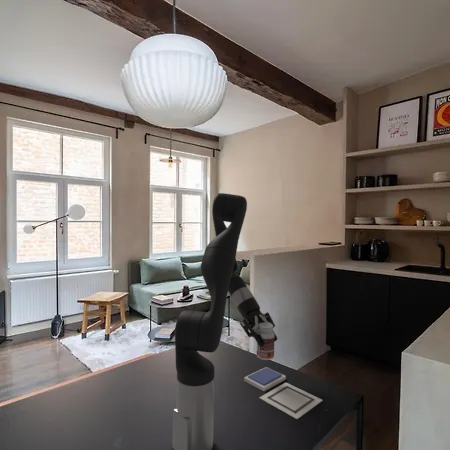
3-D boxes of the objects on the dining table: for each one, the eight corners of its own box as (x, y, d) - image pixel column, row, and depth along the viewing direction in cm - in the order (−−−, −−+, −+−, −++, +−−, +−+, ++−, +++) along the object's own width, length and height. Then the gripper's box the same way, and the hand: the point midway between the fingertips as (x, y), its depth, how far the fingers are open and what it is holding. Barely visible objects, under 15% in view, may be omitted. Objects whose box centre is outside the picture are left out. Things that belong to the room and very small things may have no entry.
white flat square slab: (297, 419, 88) (297, 418, 88) (259, 398, 98) (259, 397, 98) (322, 400, 98) (322, 399, 98) (285, 383, 108) (285, 382, 108)
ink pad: (263, 391, 102) (264, 386, 102) (244, 380, 109) (244, 376, 109) (285, 379, 110) (285, 374, 110) (266, 370, 117) (266, 365, 117)
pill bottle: (277, 358, 109) (278, 326, 108) (264, 362, 105) (265, 329, 105) (266, 351, 114) (266, 320, 114) (252, 355, 110) (253, 323, 110)
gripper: (237, 299, 110) (262, 343, 101) (263, 293, 119) (288, 333, 111) (226, 311, 114) (249, 354, 105) (252, 304, 123) (276, 343, 115)
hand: (269, 343), depth 108 cm, fingers closed on pill bottle, 6 cm apart
